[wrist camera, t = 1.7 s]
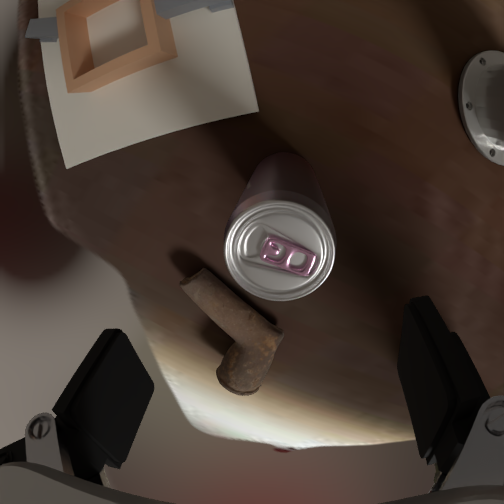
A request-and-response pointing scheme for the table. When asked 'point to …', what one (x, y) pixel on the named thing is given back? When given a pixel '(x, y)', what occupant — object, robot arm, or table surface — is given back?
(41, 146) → the table surface
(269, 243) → the beverage can
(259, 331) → the pipe
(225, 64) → the white board with box
